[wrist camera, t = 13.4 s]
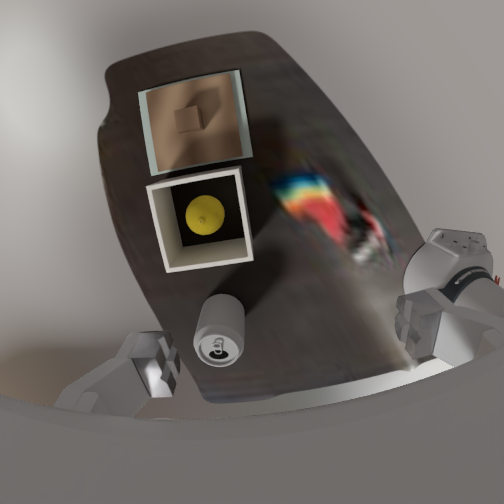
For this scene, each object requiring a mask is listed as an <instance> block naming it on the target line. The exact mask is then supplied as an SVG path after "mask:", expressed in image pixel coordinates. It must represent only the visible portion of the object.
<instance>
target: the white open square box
mask: <svg viewBox="0 0 504 504" xmlns="http://www.w3.org/2000/svg"><path fill="white" fill-rule="evenodd" d="M234 174H235V179H236V185H237V191H238V198H239V204H240V210H241V216H242V222H243V228H244V234H245V238H239V239H232V240H225V241H219V242H212V243H206V244H199V245H193V246H186V247H183V245H182V240H181V236H180V231H179V227H178V222H177V218H176V213H175V208H174V203H173V198H172V193H171V188H170V186H173V185H178V184H183V183H188V182H194V181H199V180H204V179H210V178H216V177H222V176H228V175H234ZM146 188H147V192H148V197H149V202H150V207H151V211H152V216H153V220H154V224H155V229H156V233H157V237H158V241H159V245H160V249H161V253H162V257H163V261H164V265H165V268H166V272H167V273H169V272H176V271H183V270H190V269H197V268H205V267H212V266H219V265H226V264H233V263H240V262H247V261H254V260H253V239H252V233H251V227H250V220H249V214H248V208H247V201H246V195H245V189H244V182H243V176H242V170H241V165H239V166H233V167H227V168H221V169H215V170H209V171H204V172H198V173H193V174H188V175H183V176H178V177H173V178H169V179H164V180H162V181H159V182H157V183H154V184H151V185H149V186H146Z"/></svg>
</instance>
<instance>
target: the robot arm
mask: <svg viewBox="0 0 504 504" xmlns="http://www.w3.org/2000/svg"><path fill="white" fill-rule="evenodd" d="M441 235H442V237H441ZM492 273H493V258H492V255H491V253H490V252H489V251H488V250H487V244H486V239H485V237H484V235H482V234H481V233H475V232H466V231H457V230H448V229H438V228H436V229H434V230H433V231H432V232H431V234H430V236H429V238H428V240H427V242H426V243H425V244H424V245H423V246H422V247H421V248H420V249H419V250H418V251H417V252H416V253H415V255H414V256H413V257H412V259H411V260H410V262H409V264H408V266H407V269H406V272H405V276H404V292H405V295H402V296H398V299H397V305H396V307H397V308H398V310H399V313H398V314H397V315H396V317H395V330H396V334H397V337H398V338H399V340H400V341H401V342H404V343H406V347H405V349H406V350H407V352H408V353H409V355H410V356H411V357H412V359H417V358H420V357H424V356H427V355H430V354H433V355H434V356H436V357H437V358H439V359H441V360H443V361H445V362H446V363H448V364H450V365H452V366H454V368H452V369H449V370H447V371H444V372H441V373H439V374H436V375H434V376H430V377H428V378H425V379H422V380H419V381H416V382H413V383H410V384H406V385H403V386H400V387H397V388H393V389H390V390H386V391H383V392H379V393H376V394H372V395H368V396H364V397H360V398H356V399H351V400H347V401H342V402H338V403H333V404H328V405H323V406H318V407H312V408H306V409H300V410H294V411H288V412H281V413H272V414H264V415H253V416H242V417H228V418H209V419H208V418H207V419H157V418H156V419H155V418H136V417H133V416H134V415H135V414H136V413H137V412H138V411H139V410H140V409H141V408H142V407H143V406H144V405H145V404H146V403H147V402H148V401H149V400H150V399H151V397H172V396H173V394H174V390H175V386H176V381H175V378H176V377H177V376H178V375H179V372H180V358H179V354H178V351H177V350H176V349H175V348H174V347H172V343H173V338H172V335H171V333H170V332H169V331H151V332H132V333H129V334H128V336H127V338H126V340H125V341H124V343H123V345H122V346H121V348H120V350H119V352H118V353H117V355H116V357H115V358H114V359H112V358H111V359H109V360H108V361H106V362H105V363H103V364H102V365H100V366H99V367H97V368H95V369H94V370H92V371H91V372H89V373H88V374H86V375H85V376H83V377H81V378H80V379H78V380H77V381H75V382H73V383H72V384H70V385H69V386H67V387H66V388H64V390H63V391H62V393H61V394H60V396H59V398H58V399H57V401H56V403H55V404H54V406H53V407H50V406H45V405H40V404H36V403H32V402H27V401H23V400H19V399H16V398H12V397H8V396H4V395H1V394H0V504H504V289H503V288H502V287H500V286H499V280H500V278H499V279H498V282H497V276H496V277H495V281H494V280H493V279H492Z"/></svg>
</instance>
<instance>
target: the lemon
mask: <svg viewBox="0 0 504 504" xmlns="http://www.w3.org/2000/svg"><path fill="white" fill-rule="evenodd" d="M224 216H225V215H224V208H223V206H222V204H221V202H220V201H219V200H218V199H216V198H214V197H212V196H208V195H203V196H199V197H197V198H195V199H194V200H193V201H192V202H191V203H190V204H189V206H188V207H187V210H186V222H187V224H188V226H189V228H190V229H191V230H192V231H194V232H195V233H197V234H201V235H208V234H211V233H214V232H215V231H217V230H218V229H219V228H220V227H221V225H222V223H223V221H224Z"/></svg>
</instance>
